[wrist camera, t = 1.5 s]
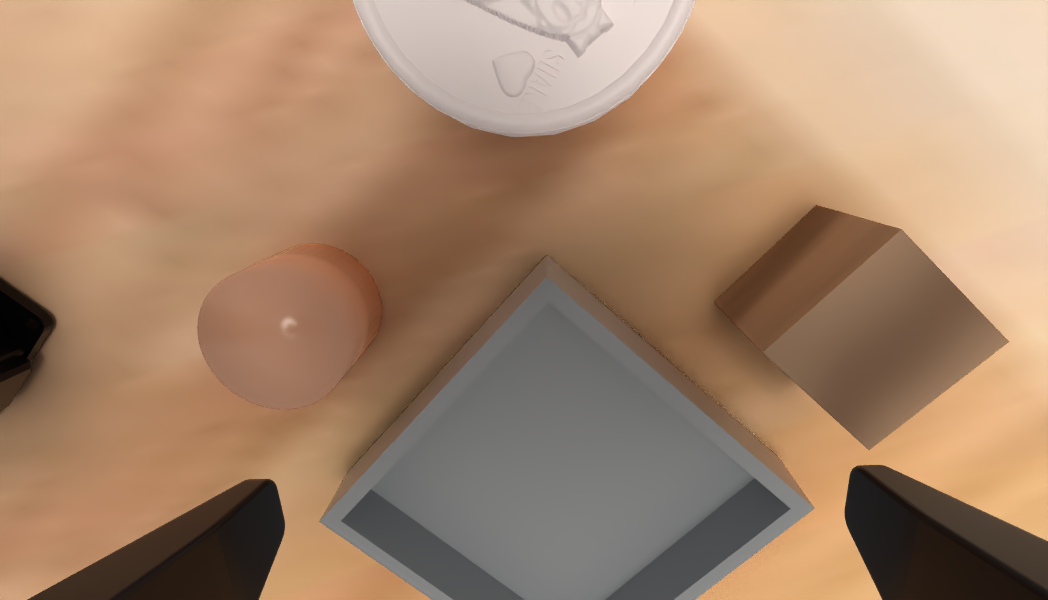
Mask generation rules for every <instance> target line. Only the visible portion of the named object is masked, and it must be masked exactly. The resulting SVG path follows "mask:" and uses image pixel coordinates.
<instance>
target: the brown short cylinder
mask: <svg viewBox="0 0 1048 600" xmlns="http://www.w3.org/2000/svg"><path fill="white" fill-rule="evenodd" d="M381 318H382V303H381V298H380V294H379V291H378V288H377V286H376V284H375V282H374V280H373V278H372V277H371V275H370V274H369V272H368V271H367V270H366V269H365V268H364V266H363V265H362V264H361V263H359V262H358V261H357V260H356V259H355V258H353V257H352V256H350V255H349V254H347V253H345V252H344V251H342V250H339V249H337V248H334V247H331V246H327V245H322V244H303V245H298V246H294V247H291V248H289V249H287V250H285V251H282V252H280V253H278V254H276V255H274V256H272V257H270V258H267V259H265V260H263V261H261V262H259V263H257V264H255V265H252V266H250V267H248V268H246V269H244V270H242V271H240V272H238V273H235V274H233V275H231V276H229V277H227V278H226V279H224V280H222V281H221V282H220V283H218V284H217V285H216V286H215V287H214V288H213V289H212V290H211V291H210V293H209V294H208V295H207V297H206V298H205V300H204V302H203V304H202V307H201V309H200V313H199V317H198V327H197V328H198V339H199V344H200V348H201V351H202V354H203V356H204V358H205V360H206V362H207V364H208V366H209V367H210V369H211V370H212V372H213V373H214V374H215V376H216V377H217V378H218V379H219V380H220V381H221V382H222V383H223V384H224V385H225V386H226V387H227V388H228V389H229V390H231V391H232V392H233V393H235V394H236V395H238V396H239V397H241V398H243V399H245V400H247V401H249V402H251V403H254V404H256V405H259V406H263V407H267V408H272V409H297V408H301V407H305V406H308V405H311V404H313V403H315V402H317V401H319V400H321V399H322V398H323V397H325V396H326V395H327V394H329V392H330V391H331V390H332V389H333V388H334V387H335V386H336V385H337V384H338V382H339V381H340V380H341V379H342V378H343V376H344V375H345V374H346V373H347V371H348V370H349V369H350V368H351V367H352V365H353V364H354V363H355V362H356V360H357V359H358V358H359V357H360V356H361V354H362V353H363V352H364V351H365V349H366V348H367V347H368V346H369V345H370V343H371V342H372V341H373V339H374V338H375V336H376V334H377V332H378V330H379V327H380V323H381Z"/></svg>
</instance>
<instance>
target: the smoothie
mask: <svg viewBox="0 0 1048 600" xmlns="http://www.w3.org/2000/svg"><path fill="white" fill-rule="evenodd" d="M695 1H696V0H353V3H354V6H355V9H356V11H357V13H358V16H359V18H360V20H361V23H362V25H363V27H364V29H365V31H366V32H367V34H368V36H369V38H370V40H371V42H372V43H373V45H374V46H375V48H376V49H377V51H378V53H379V54H380V56H381V57H382V58H383V60H384V61H385V62H386V64H387V65H388V66H389V67H390V69H391V70H392V71H393V72H394V73H395V74H396V75H397V77H398V78H399V79H400V80H401V81H402V82H403V83H404V84H405V85H406V86H407V87H408V88H410V89H411V90H412V91H413V92H414V93H415V94H416V95H417V96H419V97H420V98H421V99H423V100H424V101H425V102H427V103H428V104H430V105H431V106H432V107H433V108H435V109H436V110H438V111H440V112H442V113H444V114H446V115H448V116H450V117H451V118H453V119H455V120H457V121H459V122H461V123H463V124H465V125H467V126H468V127H470V128H473V129H478V130H482V131H487V132H491V133H495V134H500V135H504V136H509V137H526V136H545V135H555V134H558V133H561V132H564V131H567V130H570V129H573V128H576V127H579V126H582V125H585V124H588V123H591V122H594V121H595V120H597V119H598V118H600V117H601V116H603V115H604V114H606V113H608V112H609V111H611V110H612V109H614V108H615V107H617V106H618V105H620V104H621V103H623V102H624V101H626V100H627V99H629V98H630V97H631V96H632V95H633V94H634V93H635V92H636V91H637V90H638V89H639V87H640V86H641V85H642V84H643V83H644V82H645V81H646V80H647V79H648V78H649V77H650V75H651V74H652V73H653V72H654V71H655V70H656V69H657V68H658V67H659V65H660V64H661V63H662V62H663V60H664V59H665V57H666V56H667V54H668V53H669V52H670V50H671V49H672V47H673V46H674V44H675V42H676V41H677V39H678V37H679V36H680V34H681V32H682V30H683V28H684V26H685V24H686V22H687V20H688V18H689V16H690V14H691V12H692V9H693V7H694V4H695Z"/></svg>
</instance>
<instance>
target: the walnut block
mask: <svg viewBox="0 0 1048 600" xmlns="http://www.w3.org/2000/svg"><path fill="white" fill-rule="evenodd" d="M714 303H715V304H716V305H717V306H718V307H719V308H720V309H721V310H722V311H723V312H724V313H725V314H726V315H727V316H728V317H729V318H730V319H731V320H732V322H733V323H734V324H735V325H736V326H737V327H738V328H739V329H740V330H741V331H742V332H743V333H744V334H745V335H746V336H747V337H748V338H749V339H750V340H751V341H752V342H753V343H754V344H755V345H756V346H757V348H758V349H759V350H760V351H761V352H762V353H763V354H764V355H766V356H767V357H768V358H769V359H770V360H771V361H772V362H773V363H774V364H775V365H776V366H778V367H779V368H780V369H781V370H782V371H783V372H784V373H785V374H786V375H787V376H788V377H790V378H791V379H792V380H793V381H794V382H795V383H796V384H797V385H798V386H799V387H800V388H802V389H803V390H804V391H805V392H806V393H807V394H808V395H809V396H810V397H811V398H812V399H814V400H815V401H816V402H817V403H818V404H819V405H820V406H821V407H822V408H823V409H824V410H826V411H827V412H828V413H829V414H830V415H831V416H832V417H833V418H834V419H835V420H836V421H837V422H839V423H840V424H841V425H842V426H843V427H844V428H845V429H846V430H847V431H848V432H849V433H851V434H852V435H853V436H854V437H855V438H856V439H857V440H858V441H859V442H860V443H861V444H863V445H864V446H865V447H866V448H867V449H868V450H870V449H871V448H873V447H874V446H875V445H876V444H878V443H879V442H880V441H882V440H883V439H884V438H885V437H887V436H888V435H889V434H891V433H892V432H893V431H894V430H896V429H897V428H898V427H900V426H901V425H902V424H903V423H905V422H906V421H907V420H909V419H910V418H911V417H913V416H914V415H915V414H916V413H918V412H919V411H920V410H922V409H923V408H924V407H925V406H927V405H928V404H929V403H931V402H932V401H933V400H934V399H936V398H937V397H938V396H940V395H941V394H942V393H943V392H945V391H946V390H947V389H949V388H950V387H951V386H953V385H954V384H955V383H956V382H958V381H959V380H960V379H962V378H963V377H964V376H965V375H967V374H968V373H969V372H971V371H972V370H973V369H974V368H976V367H977V366H978V365H980V364H981V363H982V362H983V361H985V360H986V359H987V358H989V357H990V356H991V355H993V354H994V353H995V352H996V351H998V350H999V349H1000V348H1002V347H1003V346H1004V345H1005V344H1007V343H1008V342H1009V341H1008V340H1007V339H1006V338H1005V337H1004V336H1003V335H1002V334H1001V333H1000V332H999V331H998V330H997V329H996V328H995V327H994V326H993V324H992V323H991V322H990V321H989V320H988V319H987V318H986V317H985V316H984V315H983V314H982V313H981V312H980V311H979V310H978V309H977V308H976V307H975V306H974V305H973V304H972V303H971V301H970V300H969V299H968V298H967V297H966V296H965V295H964V294H963V293H962V292H961V291H960V290H959V289H958V288H957V287H956V286H955V285H954V284H953V283H952V282H951V281H950V280H949V278H948V277H947V276H946V275H945V274H944V273H943V272H942V271H941V270H940V269H939V268H938V267H937V266H936V265H935V264H934V263H933V262H932V261H931V260H930V259H929V258H928V257H927V256H926V254H925V253H924V252H923V251H922V250H921V249H920V248H919V247H918V246H917V245H916V244H915V243H914V242H913V241H912V240H911V239H910V238H909V237H908V236H907V235H906V234H905V233H904V231H903V230H902V229H898V228H895V227H891V226H888V225H884V224H881V223H877V222H874V221H870V220H867V219H863V218H860V217H856V216H853V215H849V214H846V213H842V212H839V211H835V210H832V209H828V208H825V207H821V206H818V205H816V206H815V207H814V208H813V209H812V210H811V211H810V212H809V213H808V214H807V215H806V216H805V217H803V218H802V219H801V220H800V221H799V222H798V223H797V224H796V225H795V226H794V227H793V228H792V229H791V230H790V231H789V232H788V233H787V234H785V235H784V236H783V237H782V238H781V239H780V240H779V241H778V242H777V243H776V244H775V245H774V246H773V247H772V248H771V249H770V250H769V251H767V252H766V253H765V254H764V255H763V256H762V257H761V258H760V259H759V260H758V261H757V262H756V263H755V264H754V265H753V266H752V267H751V268H750V269H748V270H747V271H746V272H745V273H744V274H743V275H742V276H741V277H740V278H739V279H738V280H737V281H736V282H735V283H734V284H733V285H732V286H730V287H729V288H728V289H727V290H726V291H725V292H724V293H723V294H722V295H721V296H720V297H719V298H718V299H717V300H716V301H715V302H714Z"/></svg>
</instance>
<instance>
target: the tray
mask: <svg viewBox="0 0 1048 600" xmlns="http://www.w3.org/2000/svg"><path fill="white" fill-rule="evenodd" d="M813 509H814V507H813V505H812V504H811V502H810V501H809V500H808V498H807V497H806V495H805V494H804V493H803V491H802V490H801V488H800V487H799V485H798V484H797V483H796V481H795V480H794V478H793V477H792V475H791V474H790V473H789V471H788V470H787V468H786V467H785V466H784V464H783V463H782V461H781V460H780V458H779V457H778V456H777V455H775V454H774V453H773V452H772V451H771V450H770V449H769V448H767V447H766V446H765V445H764V444H763V443H762V442H761V441H759V440H758V439H757V438H756V437H755V436H754V435H753V434H751V433H750V432H749V431H748V430H747V429H746V428H745V427H743V426H742V425H741V424H740V423H739V422H738V421H737V420H735V419H734V418H733V417H732V416H731V415H730V414H729V413H727V412H726V411H725V410H724V409H723V408H722V407H721V406H719V405H718V404H717V403H716V402H715V401H714V400H713V399H711V398H710V397H709V396H708V395H707V394H706V393H705V392H703V391H702V390H701V389H700V388H699V387H698V386H697V385H695V384H694V383H693V382H692V381H691V380H690V379H689V378H687V377H686V376H685V375H684V374H683V373H682V372H681V371H679V370H678V369H677V368H676V367H675V366H674V365H673V364H671V363H670V362H669V361H668V360H667V359H666V358H665V357H663V356H662V355H661V354H660V353H659V352H658V351H657V350H655V349H654V348H653V347H652V346H651V345H650V344H649V343H647V342H646V341H645V340H644V339H643V338H642V337H641V336H639V335H638V334H637V333H636V332H635V331H634V330H633V329H631V328H630V327H629V326H628V325H627V324H626V323H625V322H623V321H622V320H621V319H620V318H619V317H618V316H617V315H615V314H614V313H613V312H612V311H611V310H610V309H609V308H607V307H606V306H605V305H604V304H603V303H602V302H601V301H599V300H598V299H597V298H596V297H595V296H594V295H593V294H591V293H590V292H589V291H588V290H587V289H586V288H585V287H583V286H582V285H581V284H580V283H579V282H578V281H577V280H575V279H574V278H573V277H572V276H571V275H570V274H569V273H567V272H566V271H565V270H564V269H563V268H562V267H561V266H559V265H558V264H557V263H556V262H555V261H554V260H553V259H551V258H550V257H549V256H548V255H546V256H545V257H544V259H543V260H542V261H541V262H540V263H539V264H538V265H537V266H536V267H535V268H534V269H533V271H532V272H531V273H530V274H529V275H528V276H527V277H526V278H525V279H524V280H523V281H522V283H521V284H520V285H519V286H518V287H517V288H516V289H515V290H514V291H513V292H512V293H511V295H510V296H509V297H508V298H507V299H506V300H505V301H504V302H503V303H502V304H501V305H500V307H499V308H498V309H497V310H496V311H495V312H494V313H493V314H492V315H491V316H490V317H489V319H488V320H487V321H486V322H485V323H484V324H483V325H482V326H481V327H480V328H479V329H478V331H477V332H476V333H475V334H474V335H473V336H472V337H471V338H470V339H469V340H468V341H467V343H466V344H465V345H464V346H463V347H462V348H461V349H460V350H459V351H458V352H457V353H456V355H455V356H454V357H453V358H452V359H451V360H450V361H449V362H448V363H447V364H446V365H445V367H444V368H443V369H442V370H441V371H440V372H439V373H438V374H437V375H436V376H435V377H434V379H433V380H432V381H431V382H430V383H429V384H428V385H427V386H426V387H425V388H424V389H423V391H422V392H421V393H420V394H419V395H418V396H417V397H416V398H415V399H414V400H413V401H412V403H411V404H410V405H409V406H408V407H407V408H406V409H405V410H404V411H403V412H402V413H401V415H400V416H399V417H398V418H397V419H396V420H395V421H394V422H393V423H392V424H391V425H390V427H389V428H388V429H387V430H386V431H385V432H384V433H383V434H382V435H381V436H380V437H379V439H378V440H377V441H376V442H375V443H374V444H373V445H372V446H371V447H370V448H369V449H368V451H367V452H366V453H365V454H364V455H363V456H362V457H361V458H360V459H359V460H358V461H357V463H356V464H355V465H354V466H353V467H352V468H351V469H350V470H349V471H348V473H347V475H346V476H345V478H344V480H343V482H342V483H341V485H340V487H339V488H338V490H337V492H336V494H335V495H334V497H333V499H332V501H331V502H330V504H329V506H328V507H327V509H326V511H325V513H324V514H323V516H322V518H321V520H320V521H319V522H321V523H322V524H324V525H325V526H326V527H328V528H329V529H331V530H332V531H334V532H335V533H337V534H338V535H339V536H341V537H342V538H344V539H345V540H347V541H348V542H350V543H351V544H352V545H354V546H355V547H357V548H358V549H360V550H361V551H363V552H364V553H365V554H367V555H368V556H370V557H371V558H373V559H374V560H376V561H377V562H378V563H380V564H381V565H383V566H384V567H386V568H387V569H389V570H390V571H391V572H393V573H394V574H396V575H397V576H399V577H400V578H402V579H403V580H404V581H406V582H407V583H409V584H410V585H412V586H413V587H415V588H416V589H417V590H419V591H420V592H422V593H423V594H425V595H426V596H428V597H429V598H430V599H432V600H695V599H697V598H698V597H699V596H700V595H702V594H703V593H704V592H706V591H707V590H708V589H710V588H711V587H712V586H714V585H715V584H716V583H717V582H719V581H720V580H721V579H723V578H724V577H725V576H727V575H728V574H729V573H731V572H732V571H733V570H734V569H736V568H737V567H738V566H740V565H741V564H742V563H744V562H745V561H746V560H748V559H749V558H750V557H751V556H753V555H754V554H755V553H757V552H758V551H759V550H761V549H762V548H763V547H765V546H766V545H767V544H768V543H770V542H771V541H772V540H774V539H775V538H776V537H778V536H779V535H780V534H782V533H783V532H784V531H785V530H787V529H788V528H789V527H791V526H792V525H793V524H795V523H796V522H797V521H799V520H800V519H801V518H802V517H804V516H805V515H806V514H808V513H809V512H810V511H812V510H813Z"/></svg>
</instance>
